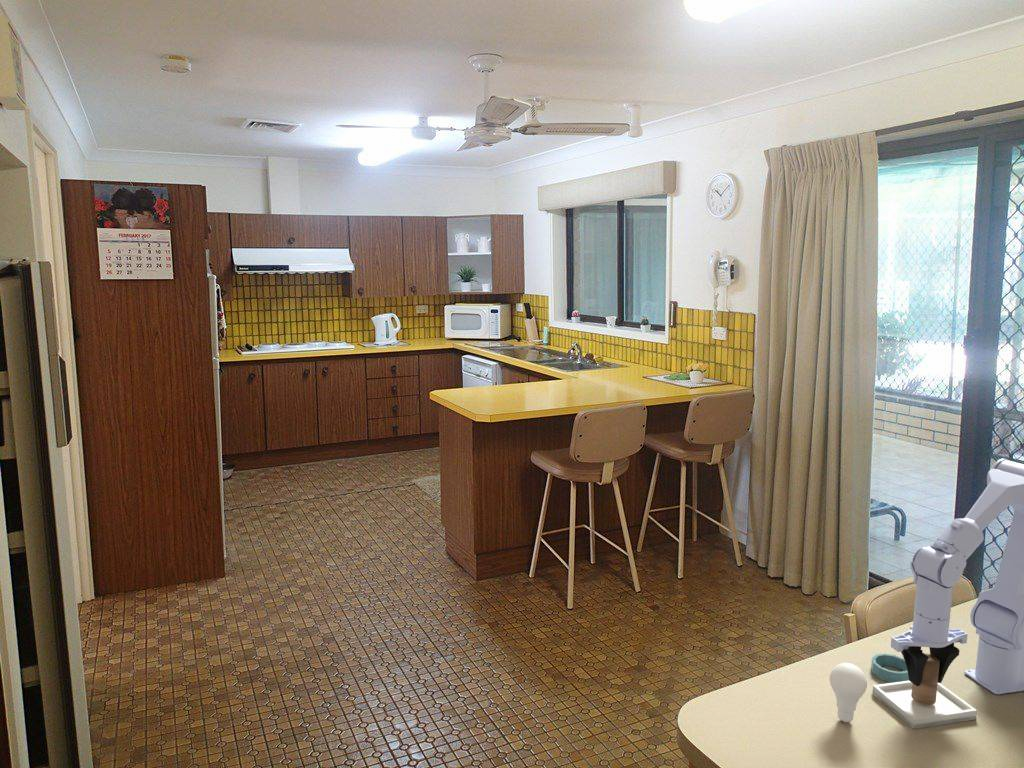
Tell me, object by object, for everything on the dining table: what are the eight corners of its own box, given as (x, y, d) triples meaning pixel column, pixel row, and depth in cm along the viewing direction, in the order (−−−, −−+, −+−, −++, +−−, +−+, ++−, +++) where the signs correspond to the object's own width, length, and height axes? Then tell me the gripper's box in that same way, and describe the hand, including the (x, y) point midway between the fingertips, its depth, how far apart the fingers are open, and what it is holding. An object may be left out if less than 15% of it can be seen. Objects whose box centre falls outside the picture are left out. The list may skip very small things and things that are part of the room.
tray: (931, 685, 147) (931, 677, 147) (976, 719, 137) (977, 710, 137) (872, 694, 145) (873, 685, 144) (913, 728, 134) (914, 719, 134)
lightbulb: (867, 733, 133) (872, 676, 131) (830, 729, 134) (834, 672, 132) (858, 713, 139) (863, 658, 137) (823, 709, 140) (827, 654, 138)
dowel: (924, 691, 143) (928, 651, 141) (940, 703, 139) (944, 663, 138) (906, 693, 142) (910, 654, 141) (921, 706, 138) (925, 665, 137)
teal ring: (894, 661, 156) (895, 652, 156) (919, 681, 149) (920, 670, 149) (863, 666, 155) (864, 656, 154) (887, 685, 148) (888, 675, 147)
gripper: (949, 599, 143) (942, 665, 145) (882, 606, 140) (876, 674, 142) (979, 616, 136) (971, 685, 138) (909, 625, 133) (902, 695, 136)
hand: (925, 681), depth 140 cm, fingers closed on dowel, 4 cm apart
